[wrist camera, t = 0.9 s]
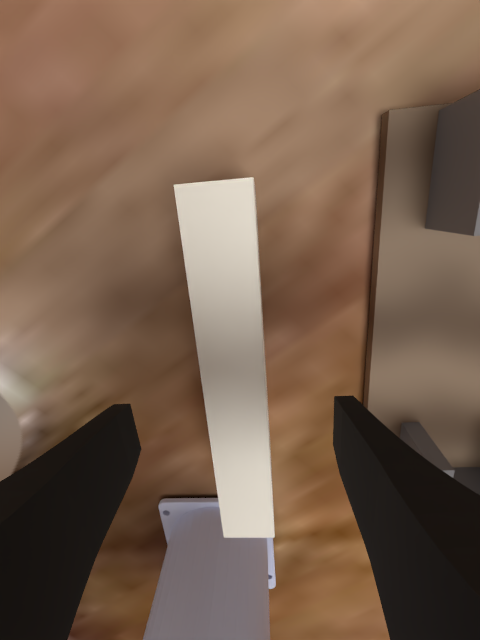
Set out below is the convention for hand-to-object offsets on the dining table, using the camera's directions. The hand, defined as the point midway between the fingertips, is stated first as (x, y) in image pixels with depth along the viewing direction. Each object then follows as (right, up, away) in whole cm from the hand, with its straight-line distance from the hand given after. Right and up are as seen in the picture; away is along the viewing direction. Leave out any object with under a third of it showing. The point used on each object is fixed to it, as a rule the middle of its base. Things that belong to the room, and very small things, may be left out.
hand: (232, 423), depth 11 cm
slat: (0, +3, +7) cm, 8 cm away
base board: (+12, +3, +6) cm, 14 cm away
